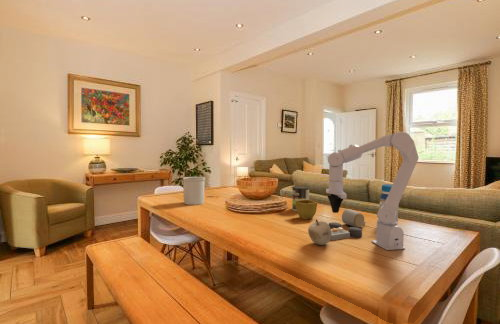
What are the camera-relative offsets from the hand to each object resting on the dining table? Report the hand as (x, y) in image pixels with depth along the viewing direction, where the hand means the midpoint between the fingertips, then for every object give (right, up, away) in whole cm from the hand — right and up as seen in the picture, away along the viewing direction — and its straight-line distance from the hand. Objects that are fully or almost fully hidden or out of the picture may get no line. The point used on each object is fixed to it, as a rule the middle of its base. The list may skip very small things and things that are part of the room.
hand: (335, 212), depth 116 cm
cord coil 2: (+9, -11, +2) cm, 14 cm away
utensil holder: (-75, -7, +71) cm, 103 cm away
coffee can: (-6, -8, +50) cm, 51 cm away
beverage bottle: (+31, -10, +16) cm, 36 cm away
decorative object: (-9, -11, -9) cm, 17 cm away
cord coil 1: (+3, -10, +9) cm, 14 cm away
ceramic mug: (+15, -10, +17) cm, 25 cm away
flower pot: (-6, -9, +31) cm, 33 cm away
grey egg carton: (0, -11, +1) cm, 11 cm away
